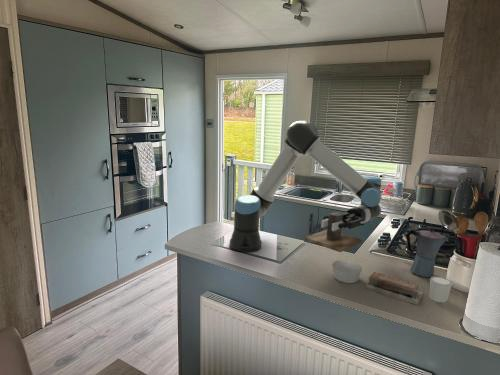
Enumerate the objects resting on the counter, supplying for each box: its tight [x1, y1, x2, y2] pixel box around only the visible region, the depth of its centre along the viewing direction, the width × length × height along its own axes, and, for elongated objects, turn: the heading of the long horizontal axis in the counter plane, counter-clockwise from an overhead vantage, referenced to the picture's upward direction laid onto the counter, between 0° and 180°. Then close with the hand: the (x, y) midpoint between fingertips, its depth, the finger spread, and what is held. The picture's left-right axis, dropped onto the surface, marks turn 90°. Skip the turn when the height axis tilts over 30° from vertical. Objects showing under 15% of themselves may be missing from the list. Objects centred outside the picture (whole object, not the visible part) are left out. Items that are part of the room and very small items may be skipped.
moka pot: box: [405, 227, 449, 279], centre depth 141 cm, size 10×15×20 cm, turn 78°
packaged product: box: [365, 271, 424, 306], centre depth 126 cm, size 18×5×10 cm
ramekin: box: [331, 259, 363, 284], centre depth 135 cm, size 11×11×5 cm
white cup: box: [428, 276, 453, 303], centre depth 122 cm, size 7×7×7 cm
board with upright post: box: [304, 212, 363, 253], centre depth 136 cm, size 16×16×11 cm
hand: (327, 225), depth 132 cm, fingers closed on board with upright post, 4 cm apart
